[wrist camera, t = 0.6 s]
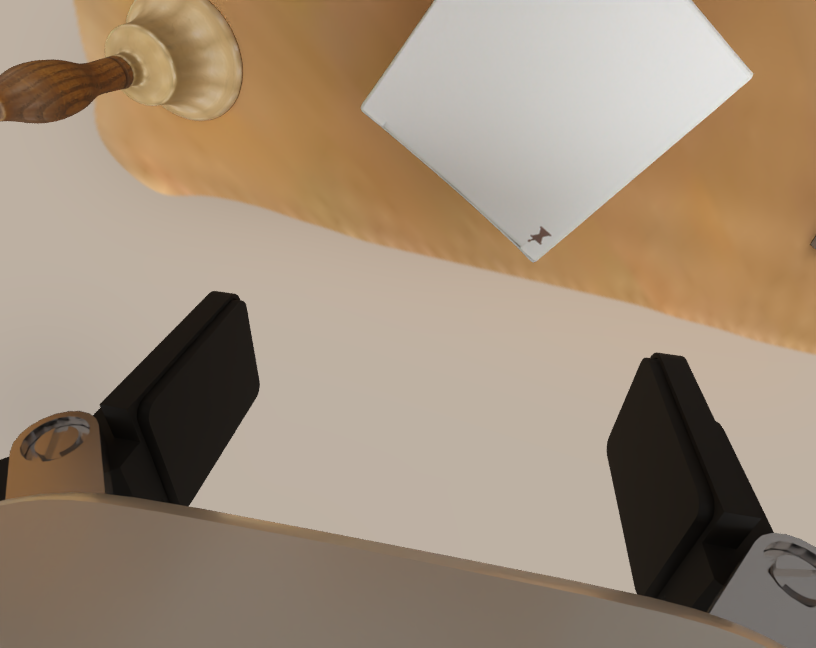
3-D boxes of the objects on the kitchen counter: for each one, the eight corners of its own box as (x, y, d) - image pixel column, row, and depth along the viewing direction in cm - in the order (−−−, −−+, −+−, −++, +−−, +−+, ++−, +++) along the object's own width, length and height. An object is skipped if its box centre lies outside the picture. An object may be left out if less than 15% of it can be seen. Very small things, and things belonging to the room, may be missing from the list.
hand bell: (228, -18, 30) (21, -16, 18) (253, 122, 35) (105, 202, 22) (110, -17, 32) (-164, -15, 19) (150, 118, 36) (-47, 192, 24)
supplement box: (647, 33, 28) (772, 82, 15) (528, 154, 33) (539, 274, 20) (531, -100, 26) (551, -188, 12) (422, 53, 31) (351, 110, 17)
